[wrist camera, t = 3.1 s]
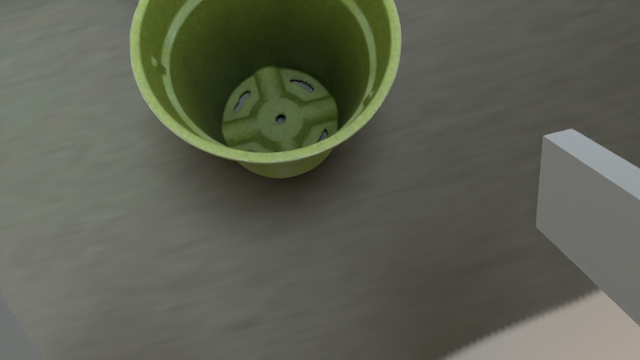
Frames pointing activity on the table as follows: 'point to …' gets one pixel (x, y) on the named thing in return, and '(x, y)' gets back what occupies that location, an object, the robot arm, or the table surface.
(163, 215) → the table surface
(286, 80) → the plant pot
